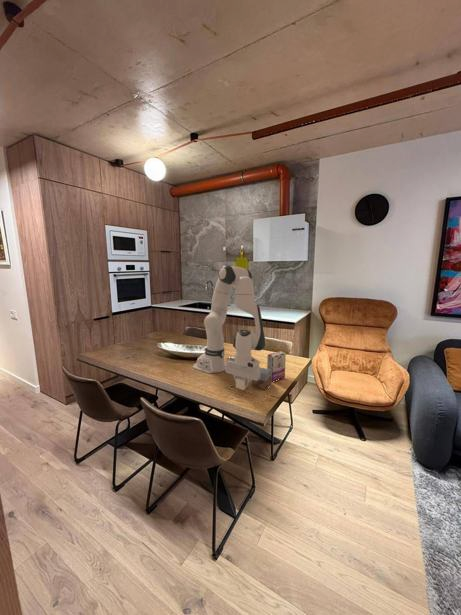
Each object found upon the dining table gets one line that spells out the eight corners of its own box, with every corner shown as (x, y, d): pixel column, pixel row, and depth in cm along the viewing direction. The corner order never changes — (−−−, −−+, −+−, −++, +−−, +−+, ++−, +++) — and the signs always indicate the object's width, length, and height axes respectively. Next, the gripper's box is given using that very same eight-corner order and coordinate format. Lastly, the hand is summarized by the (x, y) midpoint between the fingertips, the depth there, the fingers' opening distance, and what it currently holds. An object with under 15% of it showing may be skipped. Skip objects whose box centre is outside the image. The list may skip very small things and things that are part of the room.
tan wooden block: (251, 387, 148) (251, 379, 147) (257, 381, 156) (257, 373, 155) (266, 391, 144) (266, 382, 143) (271, 384, 152) (271, 376, 151)
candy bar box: (279, 375, 164) (280, 350, 161) (285, 378, 160) (286, 352, 157) (266, 379, 157) (267, 354, 154) (272, 382, 153) (273, 356, 150)
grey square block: (254, 379, 147) (254, 371, 147) (258, 374, 154) (258, 367, 153) (266, 381, 145) (266, 373, 144) (269, 376, 151) (270, 369, 150)
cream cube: (235, 387, 141) (236, 378, 140) (239, 383, 145) (240, 375, 145) (243, 389, 139) (244, 381, 138) (247, 386, 143) (248, 377, 142)
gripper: (223, 357, 142) (222, 381, 144) (257, 366, 132) (256, 391, 134) (229, 354, 147) (228, 377, 149) (262, 362, 137) (261, 386, 140)
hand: (241, 383), depth 142 cm, fingers closed on cream cube, 5 cm apart
